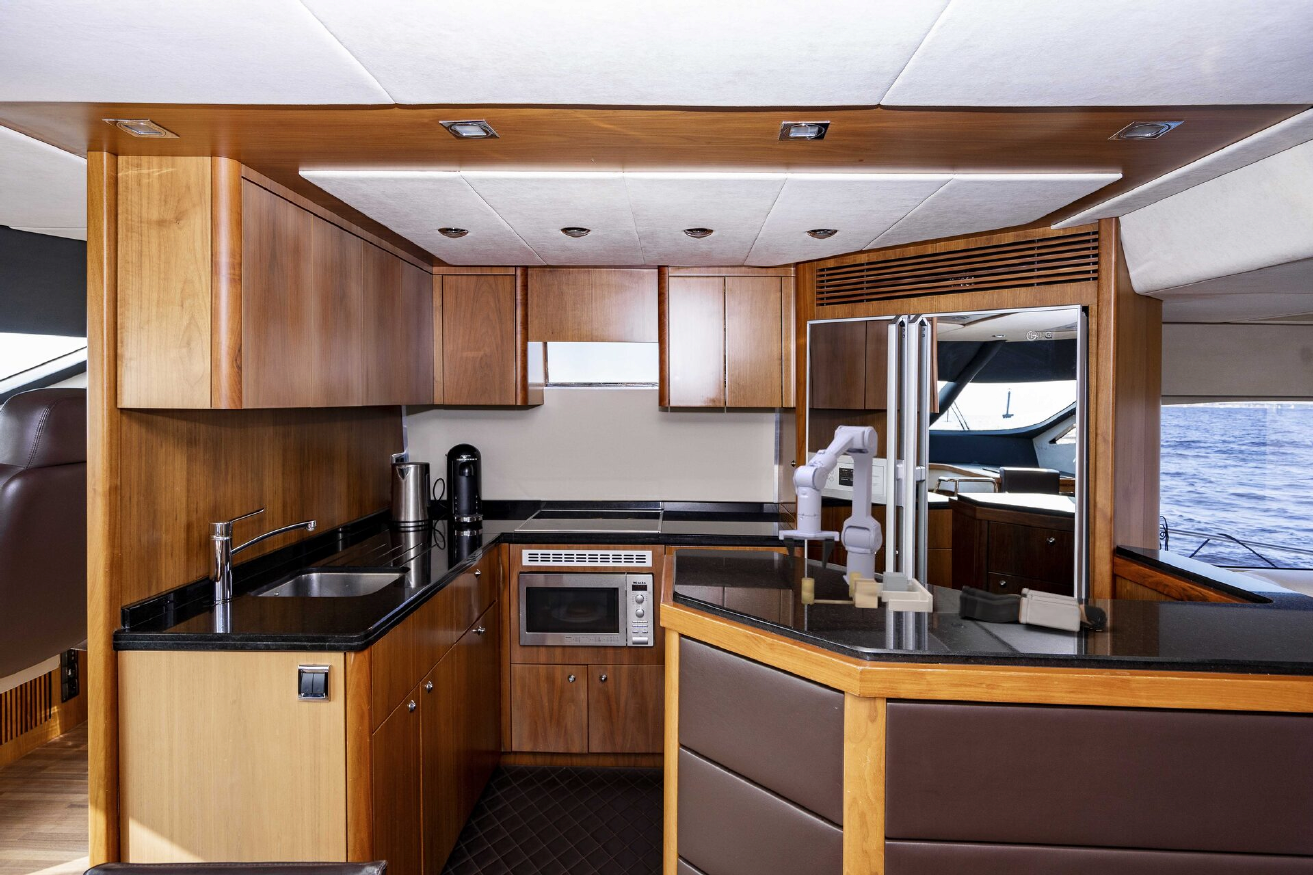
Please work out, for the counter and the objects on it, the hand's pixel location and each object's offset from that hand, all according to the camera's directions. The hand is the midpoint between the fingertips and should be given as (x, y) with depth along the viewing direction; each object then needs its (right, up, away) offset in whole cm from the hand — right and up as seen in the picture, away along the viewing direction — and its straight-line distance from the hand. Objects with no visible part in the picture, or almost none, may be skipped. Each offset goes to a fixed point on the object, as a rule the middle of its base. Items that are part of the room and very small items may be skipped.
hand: (808, 568), depth 181 cm
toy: (+49, -10, -13) cm, 51 cm away
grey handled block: (+19, -9, +7) cm, 22 cm away
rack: (+24, -9, +2) cm, 26 cm away
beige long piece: (+7, -9, 0) cm, 11 cm away
